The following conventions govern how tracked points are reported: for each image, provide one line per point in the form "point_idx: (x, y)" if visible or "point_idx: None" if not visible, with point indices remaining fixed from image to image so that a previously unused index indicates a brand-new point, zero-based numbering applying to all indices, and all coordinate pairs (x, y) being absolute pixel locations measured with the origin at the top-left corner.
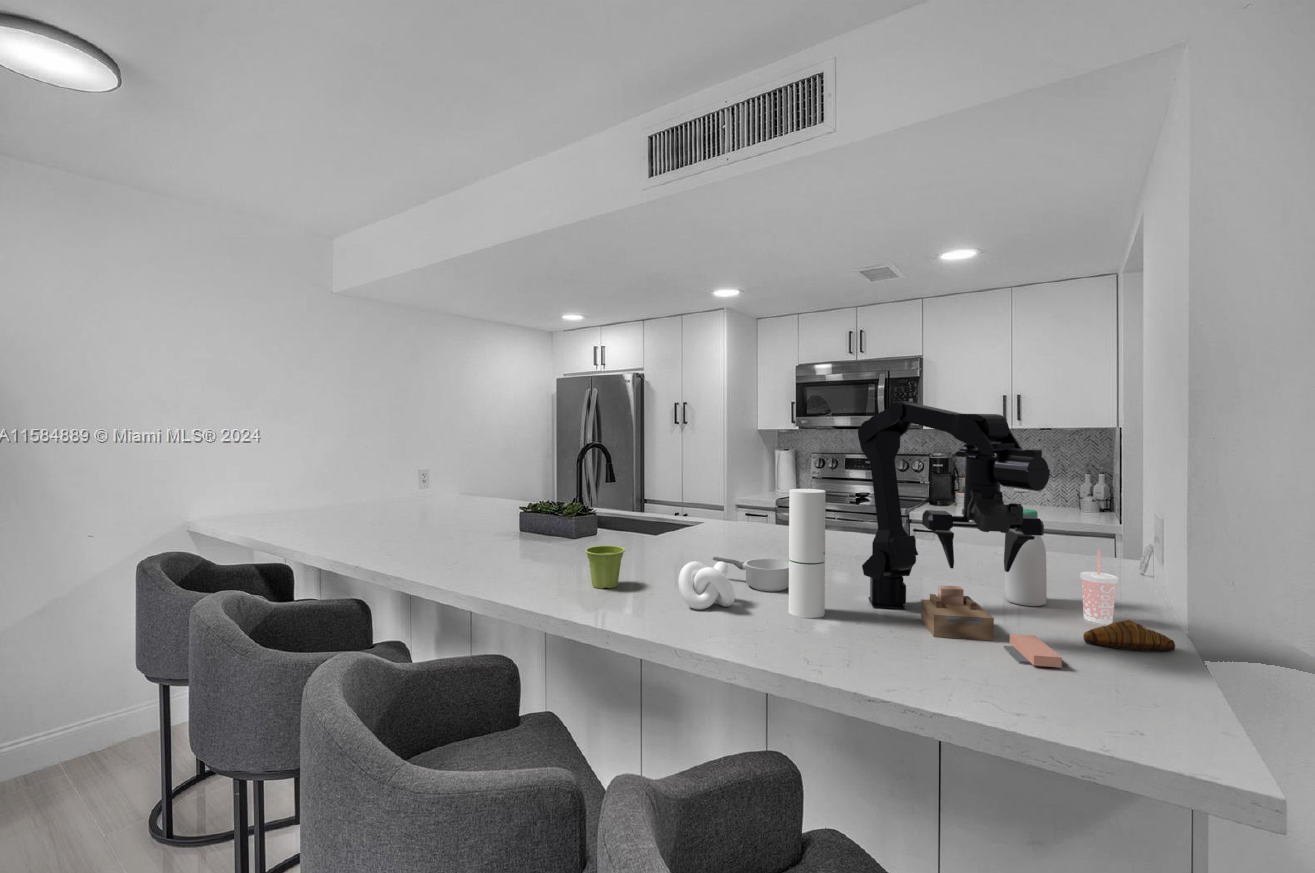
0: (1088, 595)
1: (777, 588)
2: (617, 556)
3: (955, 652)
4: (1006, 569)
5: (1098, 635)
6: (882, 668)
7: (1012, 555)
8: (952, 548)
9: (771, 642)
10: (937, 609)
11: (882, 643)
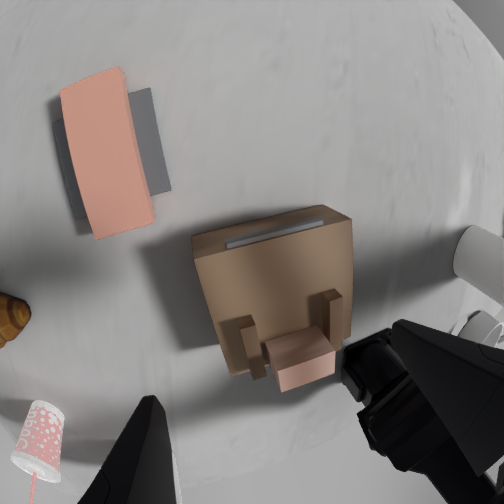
0: (46, 440)
1: (471, 320)
2: None
3: (288, 109)
4: (154, 402)
5: (3, 305)
6: (400, 17)
7: (121, 465)
8: (475, 361)
9: (494, 110)
10: (334, 273)
11: (408, 129)
